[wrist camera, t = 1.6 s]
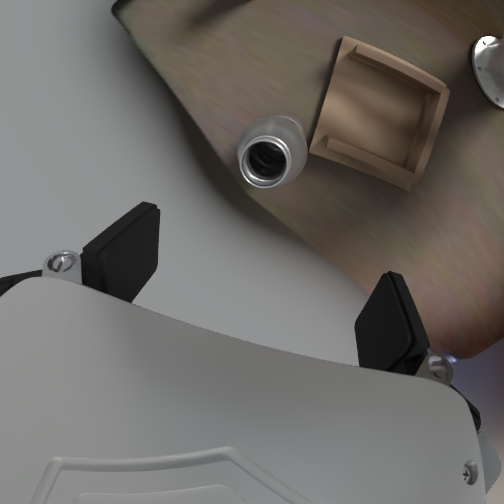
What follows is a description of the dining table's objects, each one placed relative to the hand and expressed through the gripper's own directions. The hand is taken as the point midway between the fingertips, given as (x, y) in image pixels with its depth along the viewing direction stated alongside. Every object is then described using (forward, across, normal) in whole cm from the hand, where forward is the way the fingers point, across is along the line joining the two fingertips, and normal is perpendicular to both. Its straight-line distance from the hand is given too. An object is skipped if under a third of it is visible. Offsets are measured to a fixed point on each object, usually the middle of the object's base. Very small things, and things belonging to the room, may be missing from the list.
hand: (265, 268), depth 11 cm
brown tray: (+30, -10, -9) cm, 33 cm away
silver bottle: (+31, +2, -1) cm, 31 cm away
